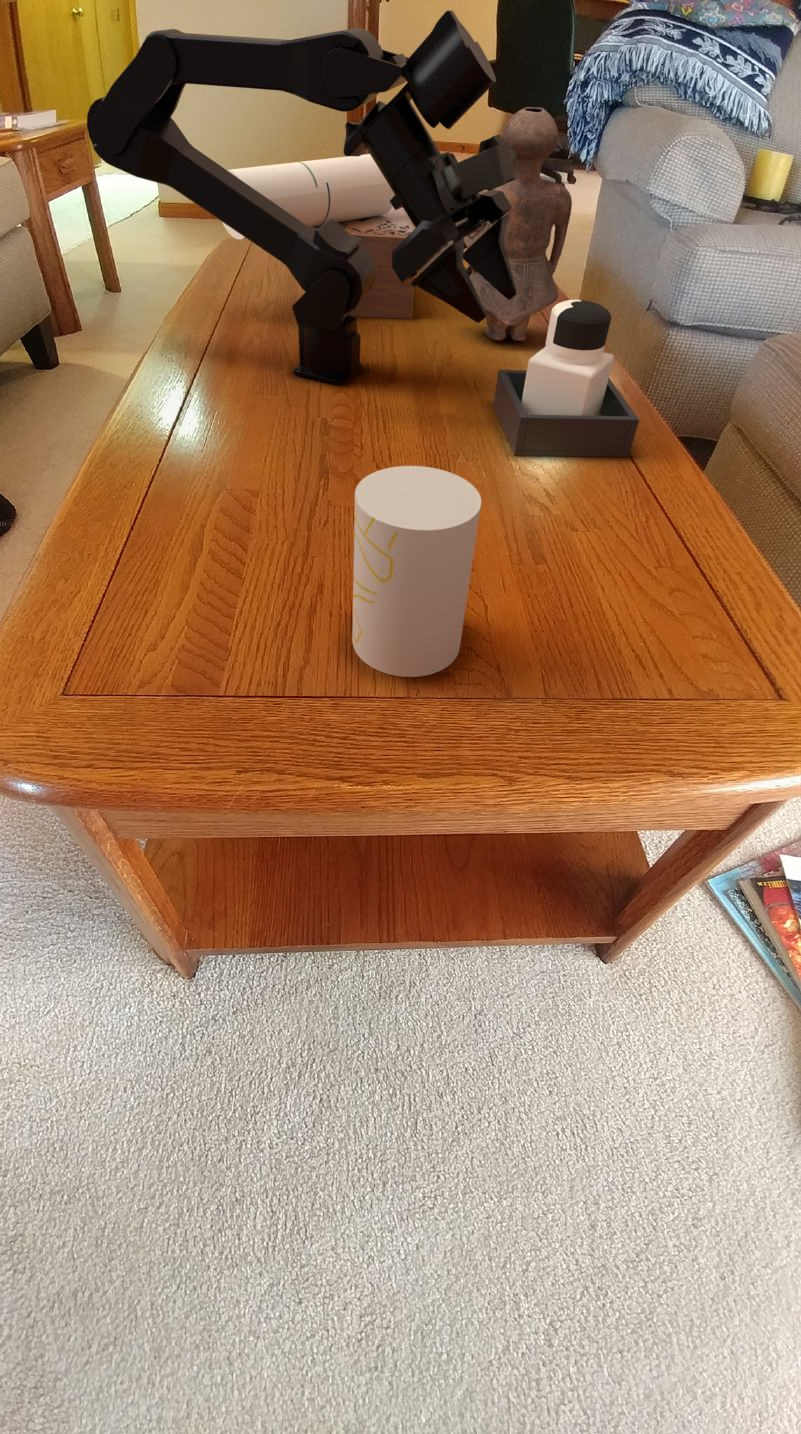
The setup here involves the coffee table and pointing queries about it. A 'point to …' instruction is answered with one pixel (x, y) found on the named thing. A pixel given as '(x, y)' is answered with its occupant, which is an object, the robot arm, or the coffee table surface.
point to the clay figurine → (527, 228)
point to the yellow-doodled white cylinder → (412, 567)
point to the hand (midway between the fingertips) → (498, 308)
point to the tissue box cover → (383, 264)
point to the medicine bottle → (570, 362)
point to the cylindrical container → (321, 189)
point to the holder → (563, 424)
